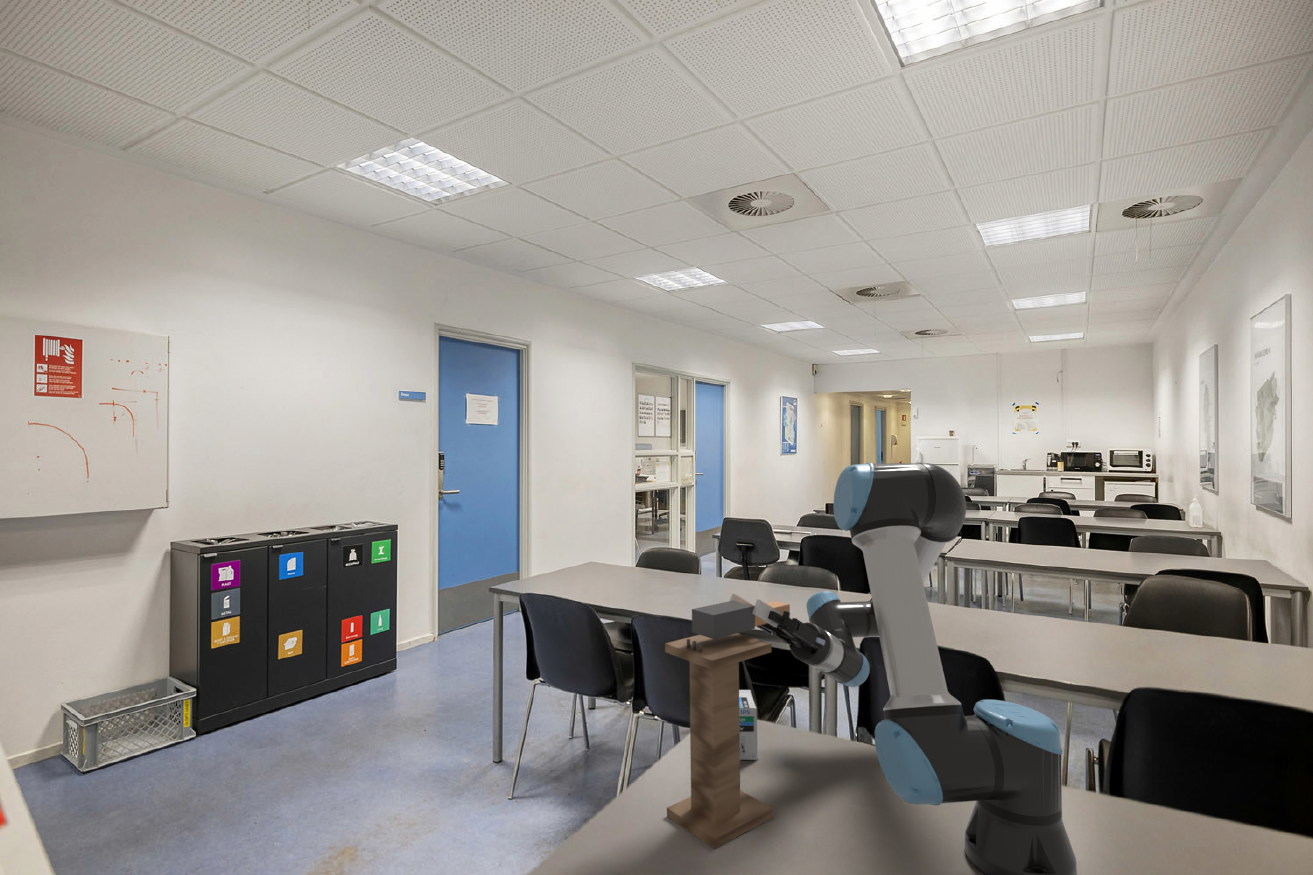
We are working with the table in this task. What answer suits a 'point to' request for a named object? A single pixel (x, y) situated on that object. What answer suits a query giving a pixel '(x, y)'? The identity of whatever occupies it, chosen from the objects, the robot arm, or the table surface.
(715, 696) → the stand
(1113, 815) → the table surface
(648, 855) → the table surface
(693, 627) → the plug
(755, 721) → the light bulb box
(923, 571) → the robot arm
